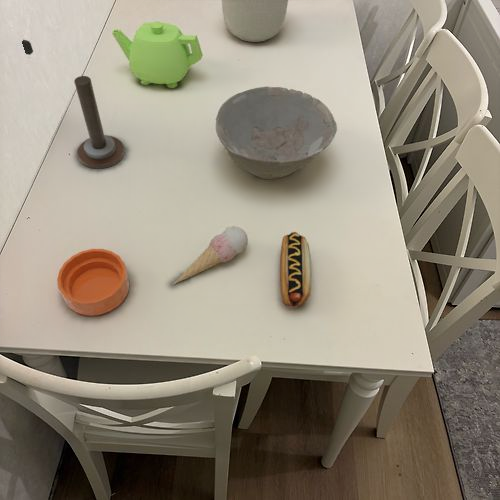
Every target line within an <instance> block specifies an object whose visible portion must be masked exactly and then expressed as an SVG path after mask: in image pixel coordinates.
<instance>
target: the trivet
mask: <svg viewBox="0 0 500 500" xmlns="http://www.w3.org/2000/svg"><path fill="white" fill-rule="evenodd" d="M104 136H108V137H111V138H112V139H113V140H114V142H115V146H116V150H115V152H114V154H113V155H111V156H110V157H108V158H105V159H100V160H97V159H92V158H90V157H88V156H87V155H86V153H85V150H84V144H85V142H86V141H87V140H88V139H89V138H87V139H85V140H84V141H83V142H82V143H81V144H80V145H79V146H78V148H77V157H78V160H79V162H80V163H81V164H82V165H84V166H85V167H86V168H90V169H95V170H99V169H100V170H101V169H108V168H110V167H112V166H115V165H117V164H118V163H120V162H121V161H122V160H123V158H124V156H125V147H124V144H123V142H122V141H121V139H119V138H117V137H114V136H112V135H105V134H104Z"/></svg>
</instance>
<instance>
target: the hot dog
mask: <svg viewBox="0 0 500 500" xmlns="http://www.w3.org/2000/svg"><path fill="white" fill-rule="evenodd" d="M279 262H280V263H279V280H280V295H281V296H280V297H281V300H282V304H284V305H286V306H289V307H293V308H296V307H301V306H303V305H304V303H306V302H307V300H308V299H309V296H310V295H311V289H312V276H313V275H312V274H313V273H312V258H311V251H310V244H309V241H308V240H307V238H306V237H305V236H304V235H301V234H299V232H297V231H293V232H292V231H291V232H290V233H289V234H285V235H283V237H282V241H281V248H280V260H279Z"/></svg>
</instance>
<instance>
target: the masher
mask: <svg viewBox="0 0 500 500" xmlns="http://www.w3.org/2000/svg"><path fill="white" fill-rule="evenodd" d="M73 81H74V86H75V90H76V93H77V97H78V101H79V105H80V107H81V111H82V115H83V118H84V121H85V127H86V129H87V130H86V131H87V133H88V137H89V138H87V139H88V140H87V139H86V140H87V141H86V142H85V144H84V150H85V153H86V155H87V156H88V157H90V158H92V159H97V160H100V159H105V158H108V157H110V156H111V155H113V154H114V152H115V150H116V146H115V142H114V140H113V139H112V138H111V137H108V136H109V135H106V136H104V135H105V131H104V128H103V124H102V119H101V115H100V112H99V107H98V104H97V103H98V102H97V100H96V99H97V98H96V95H95V91H94V87H93V83H92V80H91V77H89V76H87V75H80V76H77V77H76V78H74V80H73Z"/></svg>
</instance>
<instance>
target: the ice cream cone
mask: <svg viewBox="0 0 500 500" xmlns="http://www.w3.org/2000/svg"><path fill="white" fill-rule="evenodd" d="M248 242H249V237H248V234H247V232H246V231H245V230H244V229H243V228H241V227H240V226H235V225H232V226H227V227H226V228H225V229H224V230H223V231H222V232H221V233H220V234H217V235H215V236H214V237H213V238H212V239H211V240H210V242H209V245H208V246H207V247H206V248H205V250H204V251H202V253H201V254H200V255H199V256H198V257H197V258H196V259H195V260H194V262H192V263H191V264H190V266H189V267H188V268H187V269H186V270H185V271H184V272H183V273H182V275H181V276H179V278H177V280H176V281H175V282H174V283H173V284H172V286H173V285H176V284H178V283H181V282H182V281H184V280H186V279H188V278H191V277H192V276H193V277H194V276H195V275H197V274H199V273H201V272H203V271H205V270H208V269H210V268H211V267H214V266H216V265H218V264H220V263H227V262H229V261H231V260H233V258H234V257H235V256H236V254H240V253H242V252H244V250H245V249H247V246H248Z"/></svg>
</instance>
